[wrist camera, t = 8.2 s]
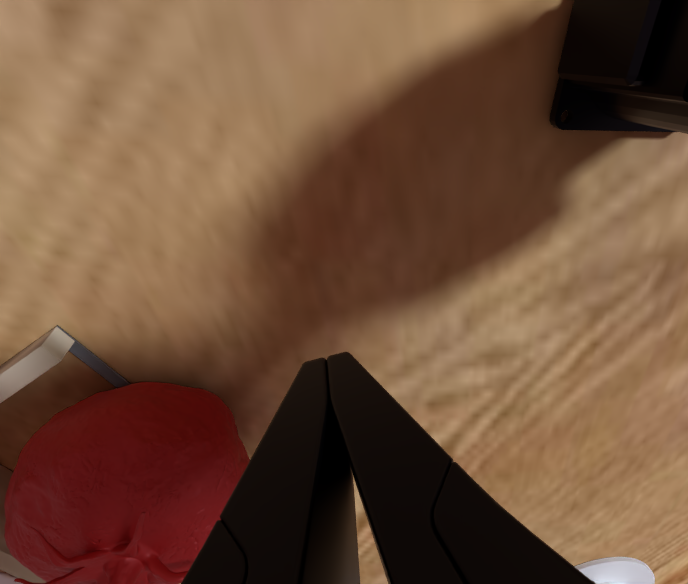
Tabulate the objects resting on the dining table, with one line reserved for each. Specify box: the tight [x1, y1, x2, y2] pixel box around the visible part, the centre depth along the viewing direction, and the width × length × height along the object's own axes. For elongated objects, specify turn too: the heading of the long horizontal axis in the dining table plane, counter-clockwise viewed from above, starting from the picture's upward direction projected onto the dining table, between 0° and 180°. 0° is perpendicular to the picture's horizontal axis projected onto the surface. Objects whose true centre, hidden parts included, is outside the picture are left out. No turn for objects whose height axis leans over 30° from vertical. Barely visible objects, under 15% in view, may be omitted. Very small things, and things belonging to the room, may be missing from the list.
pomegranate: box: [4, 382, 250, 584], centre depth 19 cm, size 10×10×9 cm
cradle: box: [0, 325, 131, 583], centre depth 23 cm, size 10×15×4 cm, turn 33°
